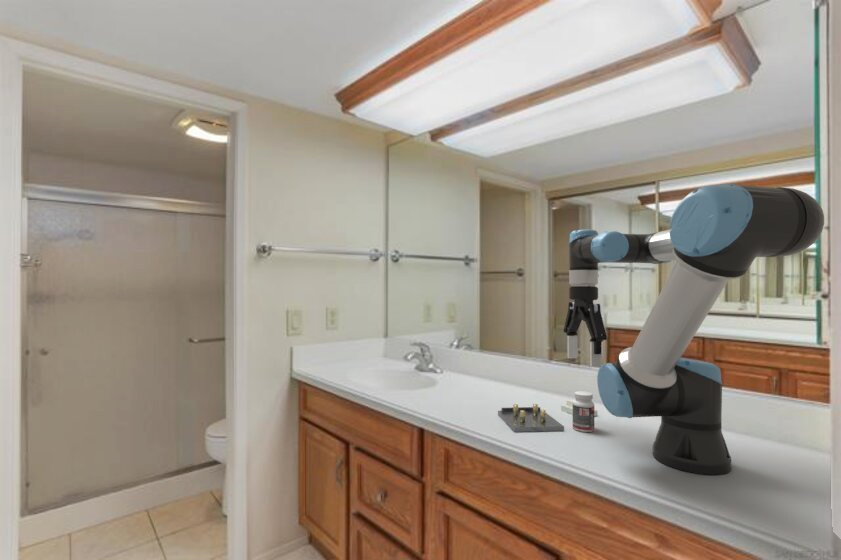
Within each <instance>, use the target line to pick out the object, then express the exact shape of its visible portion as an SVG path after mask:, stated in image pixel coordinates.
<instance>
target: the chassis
mask: <svg viewBox="0 0 841 560" xmlns="http://www.w3.org/2000/svg"><path fill="white" fill-rule="evenodd" d="M497 416H499V417H500V419H502V420H503V422H504V423H505V424H506V425H507V426H508V427H509V428H510V429H511V430H512V431H513V432H514V433H524V432H525V433H526V432H528V433H529V432H531V433H533V432H534V433H535V432H564V431H565V425H563V424H562V423H561V422H559V421H557V420H556V419H555V418H554V417H553V416H552V415H550V414H548V413H547V412H546V409H541V407H540V406H539V405H538V404H536V403H533V404H532V406H530V407H529V406H528V407H526V406H524V407H521V406H520V407H519V404H513V407H501V410H497Z"/></svg>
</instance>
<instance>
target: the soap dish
mask: <svg viewBox="0 0 841 560" xmlns="http://www.w3.org/2000/svg"><path fill="white" fill-rule="evenodd" d="M575 399H576V398H574V399H567V400H566V404H562V405H560V411H561V412H564V413H565V412H566V413H568V414H571V415H573V401H574V400H575ZM594 417H598V410H597V409H594Z"/></svg>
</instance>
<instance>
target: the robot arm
mask: <svg viewBox="0 0 841 560" xmlns="http://www.w3.org/2000/svg"><path fill="white" fill-rule="evenodd" d="M824 226H825V214H824V210H823V209H822V207H821V205H820V203H819V202H818V201H817V200H816V199H815V198H814V197H812V196H811V195H810V194H809V193H807V192H804V191H802V190H799V189H795V188H794V187H793V188H791V187H781V186H780V187H779V186H778V187H777V186H776V187H772V186H769V187H768V186H755V185H753V186H752V185H751V186H750V185H749V186H748V185H738V184H732V183H725V184H724V183H723V184H719V185H718V184H717V185H713V184H712V185H705V186H702V187H699V188H698V189H697V188H696V189H695V190H692V191H690V192H689V193H688V194H687V195H686V196H684V198H682V199H681V201H680V202H679V203H678V204H677V206H676V208H675V209H674V210H673V213H672V215H671V218H670V222H669V227H670V228H671V229H666V230H662V231H658V232H653V233H638V234H637V233H621V232H619V231H617V230H611V231H603V232H600V233H598V231H597V230H596V229H579V230H573V231H572V232H570V234H569V241H568V247H569V248H568V249H569V250H568V252H569V253H568V254H569V255H568V256H569V258H568V260H569V261H568V262H569V271H568V273H569V274H568V281H569V283H568V284H569V285H570V286H569V287H568V289H569V290H568V291H569V292H568V295H569V300H571V302H570V301H569V302H568V307H567V314H566V318H565V323H564V327H563V333H564V334H566V336H567V359H578V331H579V328H580V325H581V323H582V321H583V322H585V325H586V327H587V330H588V334H589V336H590V339H589V345H590V346H589V353H590V354H589V358H590V360H589V363H590V364H589V366H590V367H591V368H592V367H594V368H596V367H597V368H598V367H599V368H598V371H597V376H596V377H597V378H596V379H597V380H596V381H597V389H598V395H599V397H600V399H601V403H602V405H603V406H604V407H605V409H606V411H608V413H610V414H611V415H612V416H614V417H617V418H628V419H632V418H648V417H651V418H652V417H653V418H655V417H660V418H661V419H660V425H659V427H658V430H657V432H656V433H657V434H656V435H655V436H656V437H655V439H654V441H653V444H652V456H653V457H654V458H655V459H656V460H657V461H658V462H660V463H662V464H664V465H666V466H668V467H671V468H674V469H678V470H681V471H684V472H689V473H694V474H699V475H711V476H712V475H714V476H715V475H724V474H728V473H730V472H731V471H732V456H731V455H730V453H729V449H728V446H727V443H726V440H725V438H724V434H723V432H722V431H723V430H722V421H723V420H722V412H723V411H722V406H723V405H722V404H723V403H722V402H723V400H722V399H723V398H722V397H723V392H722V391H723V390H722V389H723V382H722V371H721V368H720V367H719V366H718V365H717V364H714V363H711V362H708V361H703V360H698V359H693V358H688V357H687V358H686V357H682V356H683V354H684V353H685V351H686V350H687V348H688V346H689V345H690V343H691V341H692V340H693V338H694V336H695V335H696V334H697V332H698V330H699V329H700V328H701V325H702V324H703V322H704V321H705V320H706V317H707V316H708V314H709V313H710V312H711V309H712V308H713V306H714V305H715V303H716V301H717V299H718V298H719V297H720V295H721V293H722V292H723V290H724V288H725V287H726V285H727V283H728V282H729V281H731V280H735V279H741V278H742V277H743V276H745V274H746V273H747V271H748V270H749V268H750V267H751V265H752V264H753V262H754V260H755V259H757V258H776V257H777V258H782V257H788V256H789V257H790V256H792V255H796V254H798V253H801V252H803V251H805V250H807V249H808V248H809V247H810V246H812V245H813V244H814V243H815V242H817V240H818V239H819V237H821V236H820V235H821V233H823V230H824ZM672 261H676V262H675V264H674V266H673V268H672V270H671V272H670V274H669V275H668V277H667V279H666V281H665V284H664V286H663V287H662V289H661V291H660V293H659V295H658V297H657V299H656V301H655V302H654V305H653V307H652V309H651V310H650V312H649V314H648V316H647V317H646V320H645V322H644V324H643V325H642V328H641V330H640V332H639V333H638V336H637V337H636V339H635V341H634V343H633V345H632V346H629V347H627V348H624V349H623V350H621V351H620V353H619V355H618V357H617V359H616V361H615V362H614V363H611V362H607V363H603V364H602V343H603V342H604V341H607V339H608V335H607V333H606V329H605V325H604V320H603V317H602V313H601V312H602V311H601V304H600V303H594V301H597V300H598V299H599V287H598V286H596V285H598V284H599V276H600V275H599V264H601V263H612V264H613V263H614V264H615V263H619V264H623V263H624V264H628V263H629V264H653V265H659V264H660V265H661V264H668V263H670V262H672ZM572 300H574V301H572Z"/></svg>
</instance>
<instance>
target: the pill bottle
mask: <svg viewBox="0 0 841 560" xmlns="http://www.w3.org/2000/svg"><path fill="white" fill-rule="evenodd" d="M574 399H575V400H574V401H573V414H572V428H573V429H574V430H575V431H577V432H582V433H592V432H594V431H595V416H594V410H595V403H594V402H593V401H592V400H593V393H592V392H588V391H584V390H583V391H581V390H580V391H575V392H574Z"/></svg>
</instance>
